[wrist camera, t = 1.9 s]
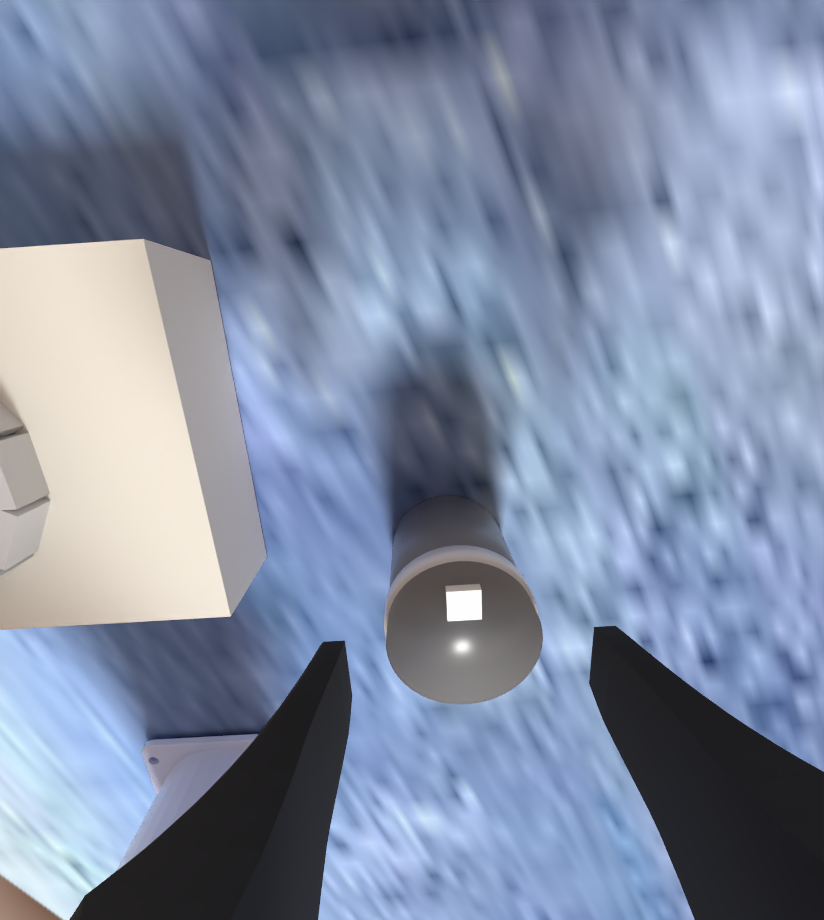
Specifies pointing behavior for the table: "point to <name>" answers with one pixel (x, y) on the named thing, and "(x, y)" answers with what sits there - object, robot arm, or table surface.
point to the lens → (458, 605)
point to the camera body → (119, 440)
